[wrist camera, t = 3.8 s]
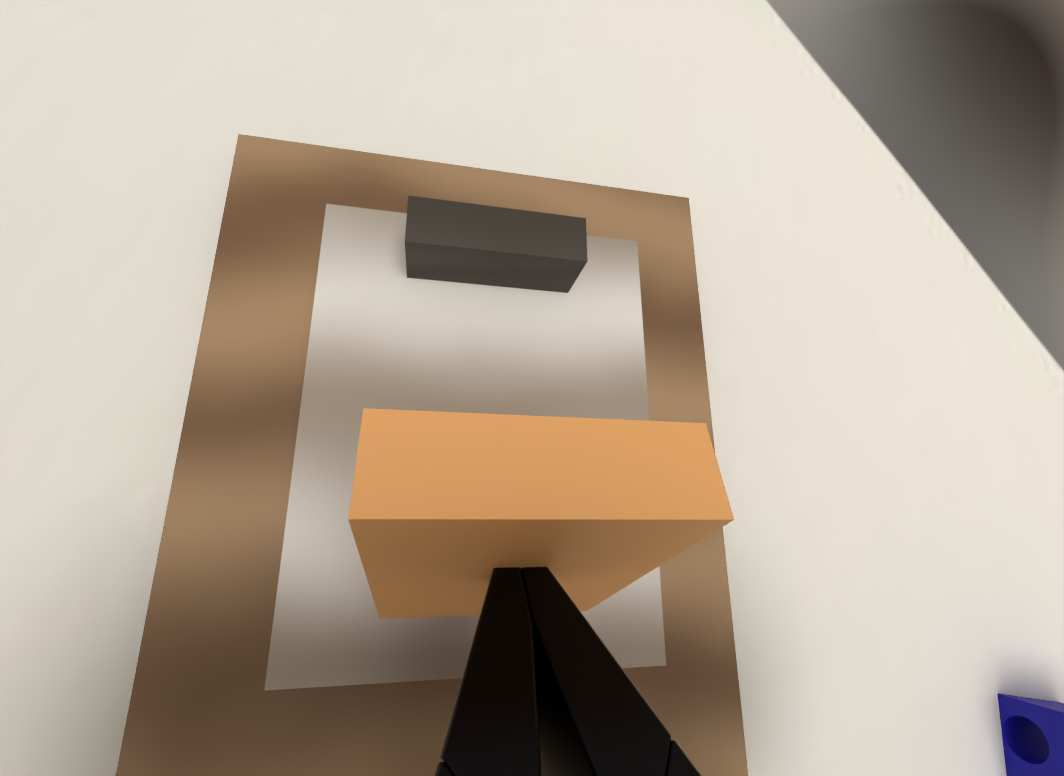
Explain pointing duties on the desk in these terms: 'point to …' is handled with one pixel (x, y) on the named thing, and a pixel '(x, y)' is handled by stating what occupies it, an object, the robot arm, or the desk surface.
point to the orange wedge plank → (524, 503)
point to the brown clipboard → (404, 384)
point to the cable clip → (1032, 736)
